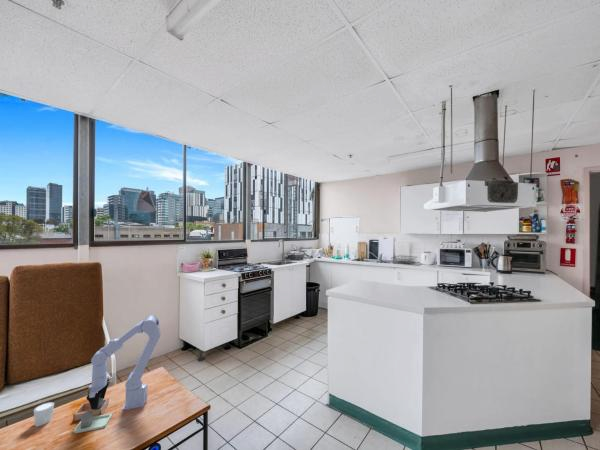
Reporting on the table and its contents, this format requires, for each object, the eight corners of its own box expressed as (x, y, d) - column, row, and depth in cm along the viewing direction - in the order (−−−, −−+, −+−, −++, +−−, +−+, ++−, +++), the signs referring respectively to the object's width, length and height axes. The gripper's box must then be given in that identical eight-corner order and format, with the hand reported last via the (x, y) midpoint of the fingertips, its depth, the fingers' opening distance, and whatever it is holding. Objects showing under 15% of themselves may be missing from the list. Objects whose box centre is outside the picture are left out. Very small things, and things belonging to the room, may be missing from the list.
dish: (108, 405, 130) (108, 398, 130) (100, 416, 121) (101, 410, 121) (82, 409, 126) (82, 402, 127) (72, 421, 118) (73, 414, 118)
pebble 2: (104, 407, 127) (105, 397, 127) (100, 413, 123) (100, 402, 123) (95, 408, 126) (96, 398, 126) (90, 414, 122) (91, 403, 123)
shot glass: (40, 428, 114) (41, 412, 114) (28, 426, 115) (29, 410, 115) (57, 418, 120) (58, 402, 121) (46, 415, 122) (47, 400, 122)
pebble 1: (93, 421, 118) (94, 410, 118) (89, 427, 114) (90, 415, 114) (83, 423, 117) (83, 411, 117) (78, 429, 113) (79, 417, 113)
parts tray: (112, 415, 122) (112, 413, 122) (104, 428, 114) (105, 425, 114) (82, 421, 118) (82, 418, 118) (72, 434, 110) (72, 431, 110)
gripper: (96, 369, 131) (95, 396, 130) (82, 385, 117) (80, 415, 117) (112, 367, 133) (111, 394, 133) (100, 382, 120) (98, 412, 119)
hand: (97, 403), depth 125 cm, fingers open, 7 cm apart
